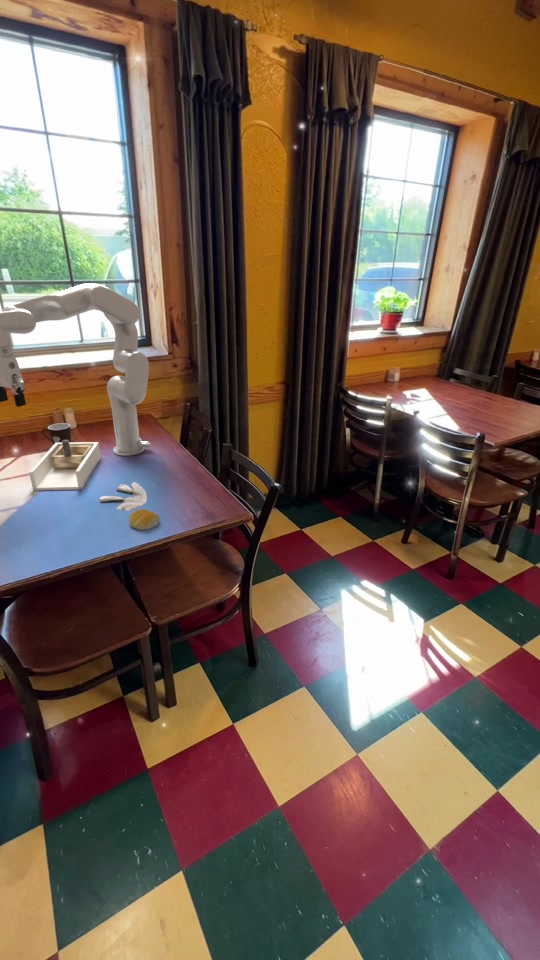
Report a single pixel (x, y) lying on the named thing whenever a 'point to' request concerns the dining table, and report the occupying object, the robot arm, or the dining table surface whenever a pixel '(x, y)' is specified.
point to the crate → (69, 456)
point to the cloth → (128, 502)
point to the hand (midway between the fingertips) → (12, 403)
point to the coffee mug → (59, 432)
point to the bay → (64, 470)
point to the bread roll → (143, 519)
